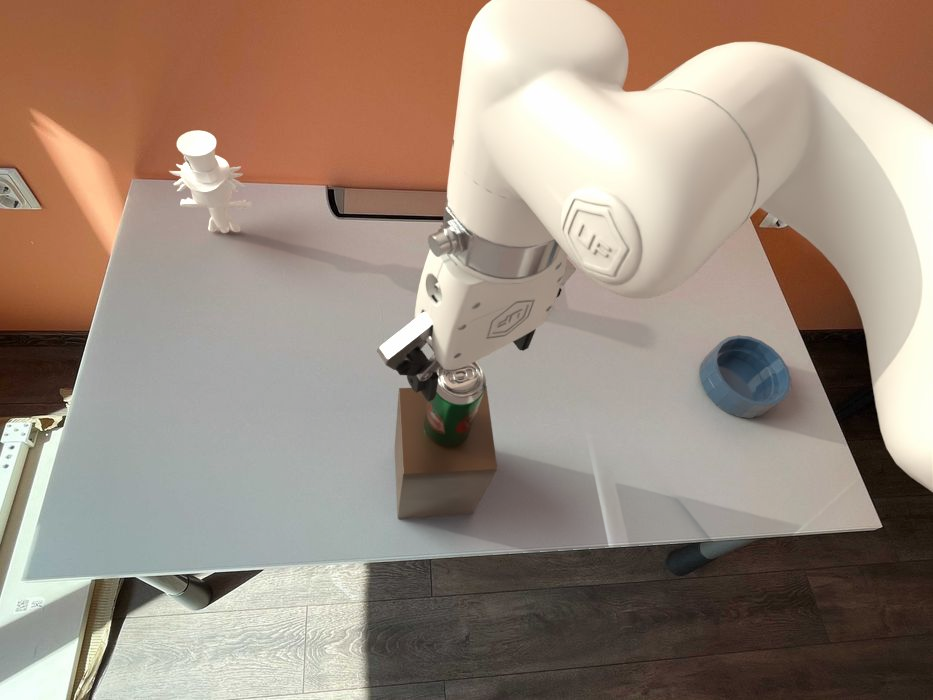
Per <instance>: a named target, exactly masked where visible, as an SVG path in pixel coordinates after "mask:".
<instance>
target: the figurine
mask: <svg viewBox="0 0 933 700" xmlns="http://www.w3.org/2000/svg"><path fill="white" fill-rule="evenodd" d="M176 148H177V151H179V152H180V154H182V156H183V160H184V162H183V163H182V164H179V163H176V164H175V165H176V167H177V168H179V169H180V170H175V171H174V170H168V172H169V173H170V174H171V175H173V176H176V177H180V178H179V179H178V180H177V181H175V182H174V183H173V186H174V187H179V188H178V189H177V190H176V192H178V193H179V192H182V191H183V190H185V189H186V188H189V189H190V193H191V197H192V198H190V197H187V198H186V199H184V198H181V200H180V202H179V206H180V207H181V208H189V209H193V208H207V209H208V211H209V214H210V218H209V221H208V228H207V229H208V231H209V232H212V233H214V232H217V231H218V230H220V232H221V233H222V234H228V233H229V231H230V230H231V231H232V232H234V233H239V232H241V230H242V229H241V228H240V226H239V224H238V223H237V222H236V221H235V220H234V219H233V217H231V216H230V213H229V209H236V210H251V209H252V206H253V205H252V201H248V200H247V199H246V198H245V199H242V200H233V201H231V200H232V196H233V192H234V193H235V194H240V193H239V191H238V190H237V189H236V188H237V186H238V187H241V188H244V187H246V185H245V184H244V183H242V182H241V181H240V180H237V179H236V178H240V177H241V176H242V177H243V175H244V173H242V172H240V173H239V172H237V171H240V169H242V166H241V165H240V166H232V167H231V166H230V164H229V162H228V161H227V160H226V159H225V158H223V157H221V156H219V155H216V148H217V139H216V137H215V135H213V134H212V133H211V132H208V131H205V130H199V129H198V130H197V129H196V130H190V131H187V132H185V133H183V134H181V135H180V136H179V137H178V138H177V140H176ZM228 208H229V209H228Z"/></svg>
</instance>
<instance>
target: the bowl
mask: <svg viewBox="0 0 933 700" xmlns="http://www.w3.org/2000/svg"><path fill="white" fill-rule="evenodd" d="M699 378H700V383H701V385H702V388H703V389H704V392H705V393H706V395H707V397H708V398H709V399H710V400H711V401H712V402H713V403H714V404H715V405H716V406H717V407H719V408H720V409H721V410H723V411H725V412H726V413H728V414H731V415H733V416H735V417H739V418H749V419H752V418H756V417H761V416H763V415H764V414H765V413H767V412H768V411H769V410H771V409H773V408H774V407H775V406H777V405H778V404H779V403H780V402H782V401H783V400H785V399H786V398H787V396H788V394H789V392H790V391H791V381H792V378H791V374H790V371H789V368H788V365H786V363H785V361H784V359H783V357H782V356H781V355H780V354H779V353H778V352H777V351H776V350H775V349H774V348H773V347H772V346H770V345H769V344H767V343H765V341H763V340H760V339H758V338H755V337H752V336H750V335H749V336H748V335H732V336H727V337H726V338H724V339H723V340H721V341H720V342H718V344H716V346H715V347H713V348H712V350H711V351H710V352H709V353H708V354H706V356H705V357H704V359H702V362H701V364H700V368H699Z"/></svg>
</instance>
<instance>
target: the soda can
mask: <svg viewBox="0 0 933 700" xmlns="http://www.w3.org/2000/svg"><path fill="white" fill-rule="evenodd" d="M436 372H437V374H438V376H439V379H438V385H437V391H436V396H435V398H434V399H433V400H431V401H429V402H428V404H427V409H426V415H425V421H424V428H425V431H426V434H427V436H428V437H429V438H430V439H431V440H432V441H433V442H434V443H436V444H438V445H440V446H444V447H452V446H456V445H459V444H461V443H462V442H463V441H464V440H465V439H466V438H467V437H468V435H469V433H470V430H471V427H472V424H473V422H474V419H475V416H476V413H477V410H478V408H479V405H480V402H481V399H482V396H483V394H484V391H485V387H487V380H486V375H485V373H484V371H483V369H482V367H481V365H480V364H479V363H478V362H477V361H475V362H473V363H471V364H469V365H467V366H465V367H462V368H459V369H455V370H447V369H444V368H443V367H442V366H440V367H439V368H438V369H437V371H436Z"/></svg>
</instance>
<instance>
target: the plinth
mask: <svg viewBox="0 0 933 700" xmlns="http://www.w3.org/2000/svg"><path fill="white" fill-rule="evenodd" d="M487 388H488V386H486V387H485V391H484V394H483V396H482V399H481V402H480V405H479V408H478V410H477V413H476V416H475V419H474V422H473V424H472V427H471V430H470V433H469V435H468V437H467V438H466V439H465V440H464V441H463V442H462V443H461V444H459V445H456V446H452V447H444V446H440V445H438V444H436V443H434V442H433V441H432V440H431V439H430V438H429V437H428V436H427V434H426V431H425V428H424V421H425V415H426V409H427V404H428V401H427V400H426V398H425V397H424V395H423V394H422V393H421V391H419V392H417V393H416V392H415V391H414V390H413V389H412V387H398V393H397V394H398V395H397V410H396V420H395V433H394V434H395V435H394V465H395V467H394V468H395V486H396V487H395V490H396V493H395V494H396V514H397V515H396V517H397V520H402V519H418V518H432V517H433V518H434V517H446V516H461V515H473V514H474V513H475V511H476V510H477V507H478V506H479V503H480V502H481V500H482V498H483V497H484V495H485V492H486V491H487V489H488V487H489V486H490V484H491V482H492V480H493V478H494V476H495V474H496V473H497V471H498V463H497V462H498V461H497V455H496V448H495V440H494V434H493V425H492V417H491V411H490V402H489V396H488V389H487Z"/></svg>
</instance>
